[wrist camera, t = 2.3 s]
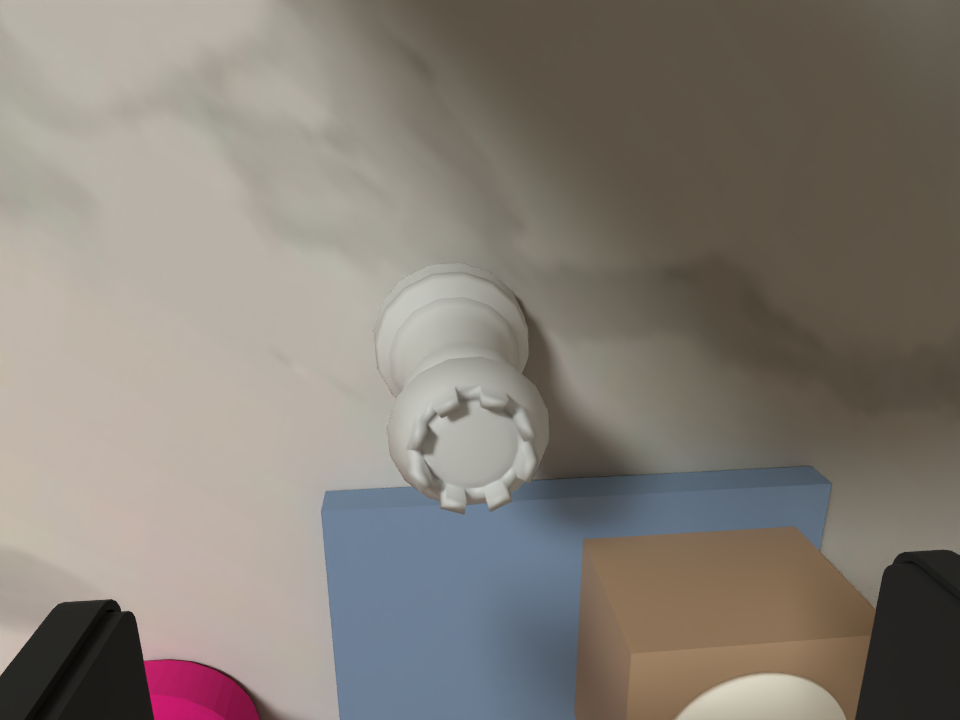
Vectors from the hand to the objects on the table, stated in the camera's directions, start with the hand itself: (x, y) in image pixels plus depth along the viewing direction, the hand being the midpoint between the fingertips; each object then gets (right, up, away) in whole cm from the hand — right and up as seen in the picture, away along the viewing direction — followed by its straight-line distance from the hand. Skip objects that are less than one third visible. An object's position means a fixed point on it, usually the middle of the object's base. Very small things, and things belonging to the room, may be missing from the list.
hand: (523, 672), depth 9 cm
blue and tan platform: (+3, -9, +17) cm, 20 cm away
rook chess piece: (-1, +5, +12) cm, 13 cm away
